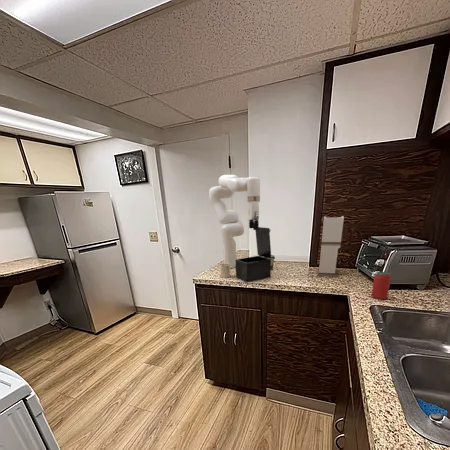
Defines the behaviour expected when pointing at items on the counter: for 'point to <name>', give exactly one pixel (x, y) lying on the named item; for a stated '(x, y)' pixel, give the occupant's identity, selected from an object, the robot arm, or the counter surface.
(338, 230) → the stepped grey pillar
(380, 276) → the beer can
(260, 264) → the black lidded box
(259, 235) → the black box lid
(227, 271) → the cup
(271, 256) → the food container
